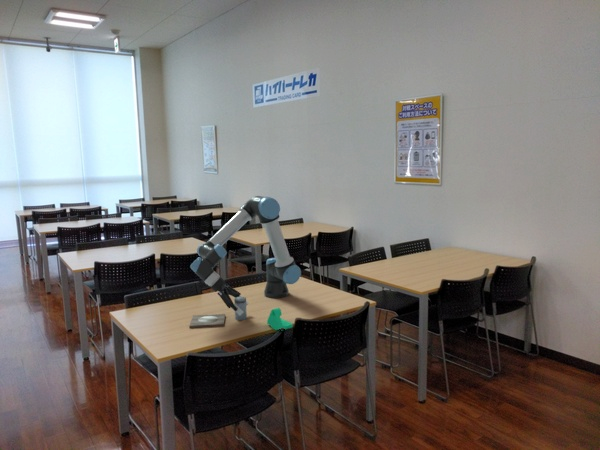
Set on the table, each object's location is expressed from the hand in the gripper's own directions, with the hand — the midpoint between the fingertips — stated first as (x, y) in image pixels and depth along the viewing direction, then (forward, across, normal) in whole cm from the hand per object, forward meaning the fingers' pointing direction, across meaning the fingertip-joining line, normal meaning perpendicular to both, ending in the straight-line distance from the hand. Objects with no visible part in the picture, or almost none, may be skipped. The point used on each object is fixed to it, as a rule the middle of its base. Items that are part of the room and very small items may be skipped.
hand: (244, 309), depth 242 cm
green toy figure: (+18, +12, +11) cm, 24 cm away
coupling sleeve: (+2, 0, -5) cm, 5 cm away
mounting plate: (-10, +6, -16) cm, 20 cm away
